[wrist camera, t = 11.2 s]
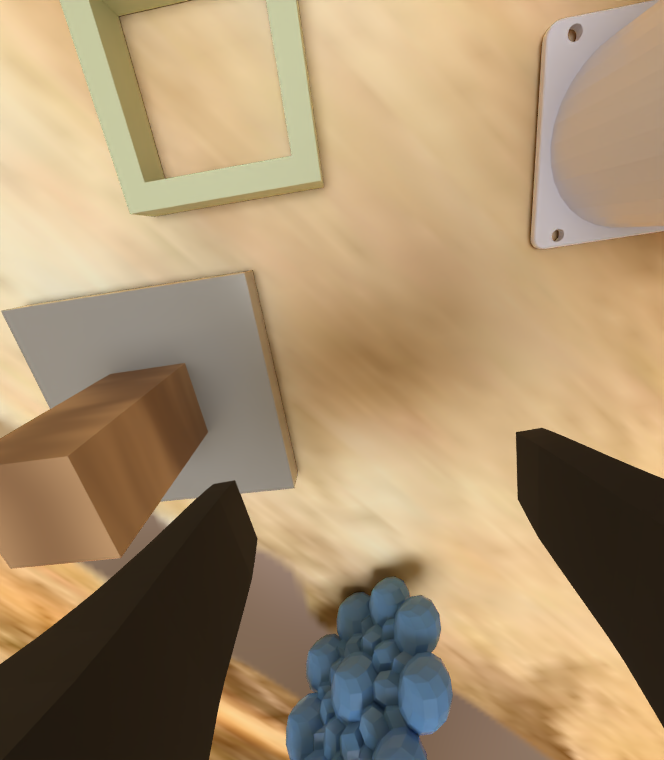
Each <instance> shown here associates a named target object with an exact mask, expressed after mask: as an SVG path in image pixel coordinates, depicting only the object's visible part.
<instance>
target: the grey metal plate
mask: <svg viewBox="0 0 664 760" xmlns="http://www.w3.org/2000/svg"><path fill="white" fill-rule="evenodd" d="M1 312H2V314H3V316H4V318H5V320H6V322H7V324H8V326H9V328H10V330H11V332H12V334H13V336H14V338H15V340H16V342H17V344H18V346H19V348H20V350H21V352H22V354H23V356H24V358H25V360H26V362H27V364H28V366H29V368H30V370H31V372H32V374H33V376H34V378H35V380H36V382H37V384H38V386H39V388H40V390H41V392H42V394H43V396H44V398H45V399H46V401H47V403H48V405H49V407H50V409H51V408H53V407H55V406H56V405H58V404H60V403H62V402H63V401H65V400H67V399H68V398H70V397H72V396H73V395H75V394H77V393H79V392H80V391H82V390H84V389H85V388H87V387H89V386H91V385H92V384H94V383H96V382H97V381H99V380H101V379H102V378H104V377H106V376H108V375H109V374H113V373H120V372H127V371H134V370H141V369H147V368H154V367H161V366H168V365H175V364H181V363H185V365H186V368H187V371H188V374H189V377H190V380H191V382H192V385H193V388H194V391H195V394H196V397H197V400H198V403H199V406H200V409H201V412H202V415H203V418H204V421H205V424H206V427H207V430H208V433H207V435H206V436H205V438H204V439H203V440H202V442H201V443H200V445H199V446H198V448H197V449H196V450H195V452H194V453H193V455H192V456H191V458H190V459H189V461H188V462H187V463H186V465H185V466H184V468H183V469H182V471H181V472H180V474H179V475H178V476H177V478H176V479H175V481H174V482H173V484H172V485H171V487H170V488H169V489H168V491H167V492H166V494H165V495H164V497H163V498H162V499H161V501H171V500H181V499H191V498H198V497H199V496H200V495H201V494H202V493H203V492H204V491H205V490H207V489H208V488H209V487H210V486H211V485H213V484H216V483H222V482H228V481H233V480H235V481H236V484H237V486H238V489H239V492H240V494H241V493H251V492H261V491H271V490H281V489H291V488H295V483H296V478H297V472H298V471H297V467H296V463H295V458H294V454H293V449H292V445H291V440H290V436H289V431H288V427H287V422H286V418H285V413H284V409H283V404H282V400H281V395H280V391H279V386H278V382H277V378H276V373H275V369H274V364H273V360H272V355H271V351H270V346H269V342H268V337H267V333H266V328H265V324H264V319H263V315H262V310H261V306H260V302H259V297H258V293H257V288H256V284H255V279H254V275H253V270H250V271H244V272H238V273H231V274H225V275H218V276H212V277H205V278H199V279H193V280H186V281H180V282H173V283H167V284H160V285H154V286H148V287H141V288H135V289H128V290H122V291H115V292H109V293H103V294H96V295H90V296H83V297H77V298H70V299H64V300H58V301H51V302H45V303H38V304H32V305H26V306H21V307H17V308H12V309H8V310H3V311H1ZM161 501H160V502H161Z"/></svg>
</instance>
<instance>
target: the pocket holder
mask: <svg viewBox="0 0 664 760" xmlns="http://www.w3.org/2000/svg"><path fill="white" fill-rule="evenodd" d="M184 1H189V0H60V3H61V6H62V9H63V12H64V15H65V18H66V21H67V24H68V27H69V30H70V33H71V36H72V39H73V42H74V45H75V49H76V52H77V55H78V58H79V61H80V64H81V67H82V70H83V73H84V76H85V79H86V82H87V85H88V88H89V91H90V94H91V97H92V100H93V103H94V106H95V109H96V112H97V115H98V118H99V121H100V124H101V127H102V130H103V133H104V136H105V139H106V143H107V146H108V149H109V152H110V155H111V158H112V161H113V164H114V167H115V170H116V173H117V176H118V179H119V182H120V185H121V188H122V191H123V194H124V197H125V200H126V203H127V206H128V209H129V212H130V214H135V215H144V216H154V217H155V216H161V215H166V214H172V213H178V212H184V211H189V210H195V209H201V208H207V207H213V206H218V205H224V204H230V203H236V202H241V201H247V200H253V199H259V198H265V197H270V196H276V195H282V194H288V193H293V192H299V191H305V190H311V189H316V188H322V187H324V185H323V178H322V170H321V163H320V156H319V149H318V142H317V134H316V127H315V120H314V113H313V106H312V98H311V91H310V84H309V77H308V70H307V62H306V55H305V48H304V41H303V33H302V26H301V19H300V12H299V5H298V0H266V4H267V10H268V16H269V22H270V28H271V35H272V41H273V47H274V53H275V59H276V65H277V71H278V77H279V83H280V89H281V95H282V101H283V107H284V114H285V120H286V126H287V132H288V138H289V144H290V150H291V156H288V157H282V158H277V159H271V160H266V161H260V162H255V163H249V164H244V165H238V166H233V167H227V168H222V169H216V170H211V171H205V172H200V173H194V174H189V175H183V176H178V177H172V178H167V179H165V177H164V174H163V170H162V167H161V163H160V160H159V156H158V153H157V149H156V146H155V142H154V139H153V135H152V132H151V128H150V125H149V121H148V118H147V114H146V111H145V107H144V104H143V100H142V97H141V93H140V90H139V86H138V83H137V79H136V76H135V72H134V69H133V66H132V62H131V59H130V55H129V52H128V48H127V45H126V41H125V38H124V34H123V31H122V27H121V24H120V20H119V17H118V16H122V15H127V14H131V13H136V12H140V11H144V10H149V9H153V8H158V7H162V6H166V5H171V4H175V3H180V2H184Z"/></svg>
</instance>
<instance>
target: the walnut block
mask: <svg viewBox="0 0 664 760" xmlns="http://www.w3.org/2000/svg"><path fill="white" fill-rule="evenodd" d="M207 433H208V430H207V427H206V424H205V421H204V418H203V415H202V412H201V409H200V406H199V403H198V400H197V397H196V394H195V391H194V388H193V385H192V382H191V380H190V377H189V374H188V371H187V368H186V365H185V363H181V364H175V365H168V366H161V367H154V368H147V369H141V370H134V371H127V372H120V373H113V374H109V375H108V376H106V377H104V378H102V379H101V380H99V381H97V382H96V383H94V384H92V385H91V386H89V387H87V388H85V389H84V390H82V391H80V392H79V393H77V394H75V395H73V396H72V397H70V398H68V399H67V400H65V401H63V402H62V403H60V404H58V405H56V406H55V407H53V408H51V409H50V410H48V411H46V412H45V413H43V414H41V415H39V416H38V417H36V418H34V419H33V420H31V421H29V422H28V423H26V424H24V425H22V426H21V427H19V428H17V429H16V430H14V431H12V432H10V433H9V434H7V435H5V436H4V437H2V438H0V554H1V555H2V557H3V558H4V560H5V561H6V563H7V564H8V566H9V567H10V568H11V569H12V568H22V567H32V566H43V565H53V564H64V563H74V562H84V561H95V560H104V559H114V558H121V557H122V556H123V554H124V553H125V551H126V550H127V548H128V547H129V546H130V544H131V542H132V541H133V540H134V538H135V537H136V535H137V534H138V533H139V531H140V530H141V528H142V527H143V525H144V524H145V523H146V521H147V520H148V518H149V517H150V515H151V514H152V512H153V511H154V510H155V508H156V507H157V505H158V504H159V502H160V501H161V499H162V498H163V497H164V495H165V494H166V492H167V491H168V489H169V488H170V487H171V485H172V484H173V482H174V481H175V479H176V478H177V476H178V475H179V474H180V472H181V471H182V469H183V468H184V466H185V465H186V463H187V462H188V461H189V459H190V458H191V456H192V455H193V453H194V452H195V450H196V449H197V448H198V446H199V445H200V443H201V442H202V440H203V439H204V438H205V436H206V435H207Z"/></svg>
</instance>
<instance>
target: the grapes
mask: <svg viewBox="0 0 664 760" xmlns="http://www.w3.org/2000/svg"><path fill="white" fill-rule="evenodd" d="M337 632H338V635H339V636H338V635H336V634H329V635H325V636H323V637H322V638H320V639H319V640H318V641H317V642H316V643H315V644H314V645H313V646H312V648H311V649H310V650H309V653H308V657H307V663H306V677H307V681H308V684H309V687H310V689H311V690H312V691H313V692H315V693H310V694H308V695H306V696H305V697H304V698H302V699H301V700H300V701H299V702H298V703H297V704H296V706H295V707H294V708H293V709H292V711H291V713H290V715H289V717H288V722H287V727H286V746H287V750H288V754H289V758H290V760H427V754H426V751H425V749H424V747H423V745H422V742H421V740H420V738H419V736H420V735H427V734H433V733H434V732H435V731H437V729H438V728H439V727H440V726H441V725H442V724H443V723H444V722H445V721H446V720H447V717H448V714H449V711H450V707H451V702H452V697H453V694H452V687H451V679H450V676H449V673H448V671H447V669H446V667H445V665H444V663H443V662H442V660H441V659H440V658H439V657H437V656H436V655H434V654H432V653H431V652H432V651H433V650H434V649H435V647H436V645H437V643H438V641H439V637H440V632H441V625H440V617H439V613H438V611H437V609H436V607H435V606H434V604H433V602H432V601H431V600H430V599H428V598H426V597H424V596H422V595H420V596H412V597H410V595H409V590H408V588H407V586H406V584H405V583H404V581H403V580H401V579H399V578H397V577H395V576H394V577H387V578H384V579H383V580H381V581H380V582H378V583H377V584H376V586H375V587H374V588H373V590H372V592H371V596H369V595H368V594H366V593H364V592H358V593H354V594H352V595H350V596H349V597H347V598H346V599H345V600H344V601H343V602H342V603H341V605H340V607H339V610H338V615H337Z"/></svg>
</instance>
